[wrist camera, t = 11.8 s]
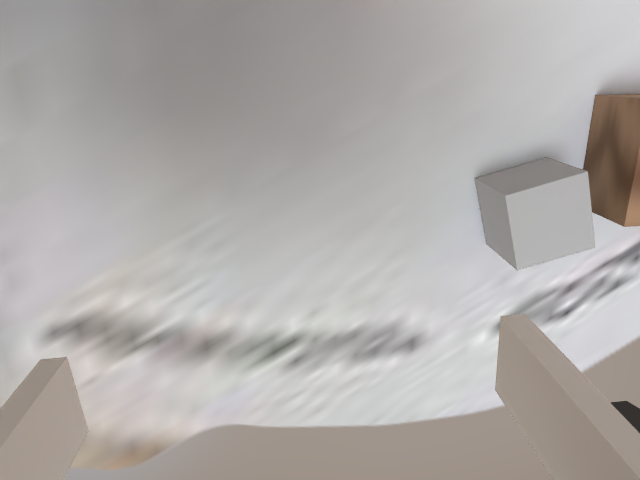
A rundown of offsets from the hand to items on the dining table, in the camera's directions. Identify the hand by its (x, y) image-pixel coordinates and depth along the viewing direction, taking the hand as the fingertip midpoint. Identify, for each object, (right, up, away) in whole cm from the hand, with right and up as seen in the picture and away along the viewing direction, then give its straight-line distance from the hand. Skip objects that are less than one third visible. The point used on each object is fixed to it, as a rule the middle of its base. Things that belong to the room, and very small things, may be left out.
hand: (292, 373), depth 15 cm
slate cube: (+17, +7, +26) cm, 32 cm away
